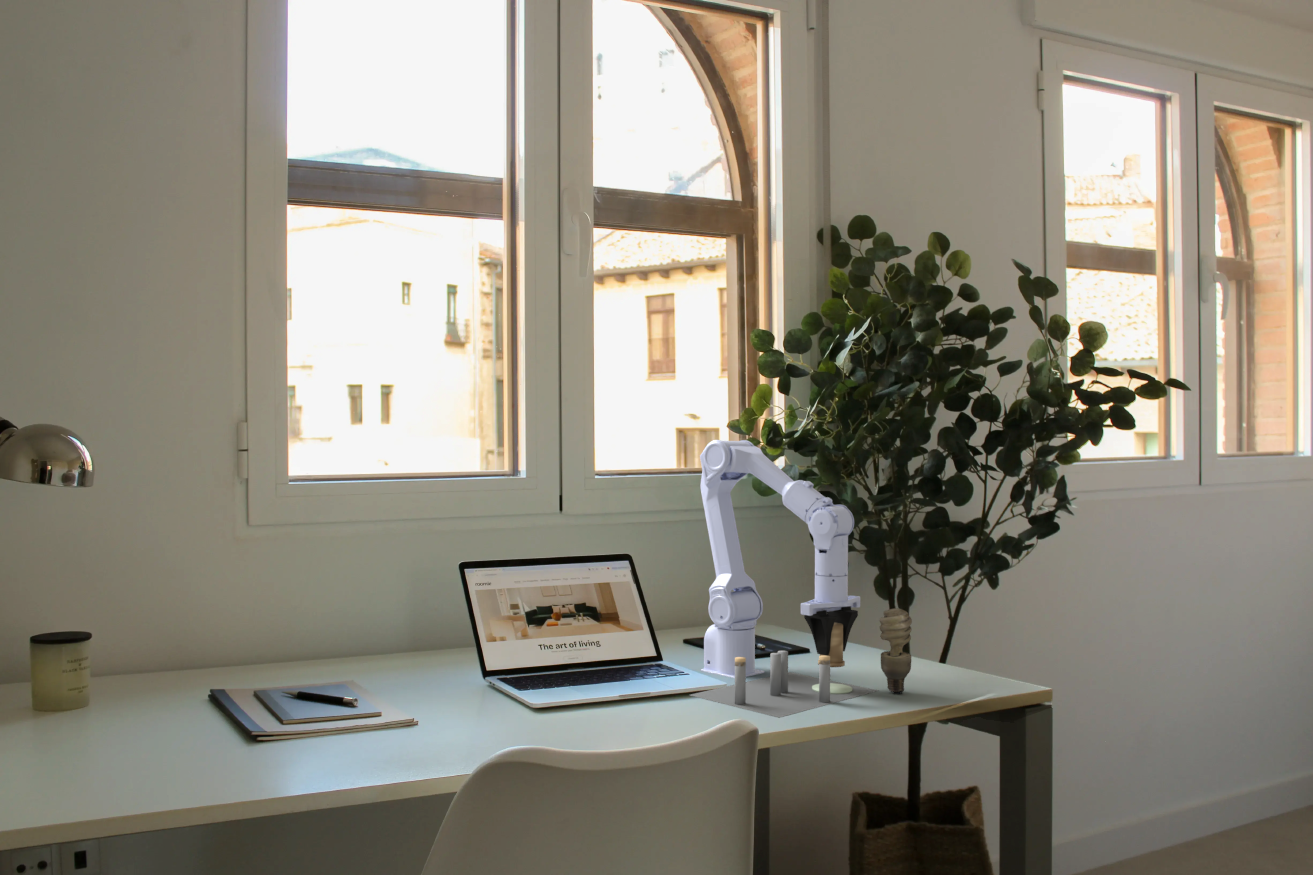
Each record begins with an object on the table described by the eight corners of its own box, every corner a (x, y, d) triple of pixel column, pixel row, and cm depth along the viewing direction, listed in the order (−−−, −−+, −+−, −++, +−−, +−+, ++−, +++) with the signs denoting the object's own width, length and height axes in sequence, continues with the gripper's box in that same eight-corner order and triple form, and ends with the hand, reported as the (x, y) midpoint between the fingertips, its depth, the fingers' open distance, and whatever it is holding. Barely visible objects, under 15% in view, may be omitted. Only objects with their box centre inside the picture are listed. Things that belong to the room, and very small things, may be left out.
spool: (833, 668, 177) (834, 627, 177) (812, 664, 180) (812, 624, 180) (850, 664, 180) (850, 624, 180) (828, 660, 183) (828, 621, 184)
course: (688, 697, 176) (688, 650, 176) (789, 674, 194) (790, 632, 195) (779, 719, 161) (779, 669, 161) (879, 692, 180) (879, 647, 180)
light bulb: (912, 699, 175) (912, 611, 175) (879, 698, 176) (879, 610, 176) (911, 692, 180) (911, 606, 180) (879, 690, 181) (879, 605, 181)
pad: (803, 688, 181) (803, 687, 181) (828, 682, 185) (828, 681, 185) (836, 696, 176) (836, 694, 176) (860, 689, 180) (860, 687, 180)
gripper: (823, 580, 173) (823, 661, 172) (874, 573, 183) (874, 650, 182) (791, 576, 178) (790, 655, 178) (842, 569, 188) (841, 644, 187)
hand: (831, 652), depth 180 cm, fingers closed on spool, 4 cm apart
